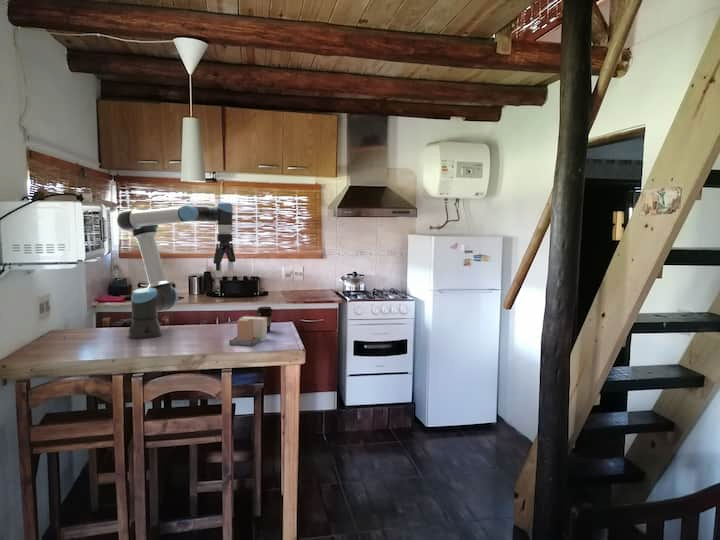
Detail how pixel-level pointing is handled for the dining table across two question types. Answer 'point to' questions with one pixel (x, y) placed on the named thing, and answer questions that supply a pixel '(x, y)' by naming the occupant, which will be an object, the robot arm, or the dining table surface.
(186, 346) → the dining table surface
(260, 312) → the coffee cup
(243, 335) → the stub
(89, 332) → the dining table surface
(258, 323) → the boxy square-sided block
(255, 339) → the tray
